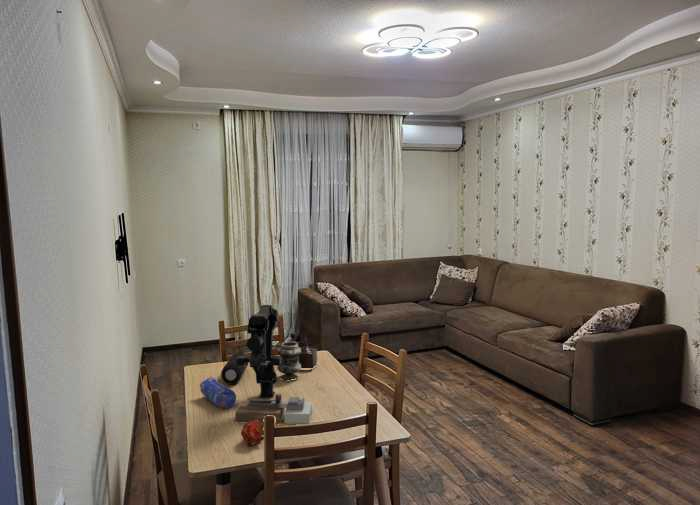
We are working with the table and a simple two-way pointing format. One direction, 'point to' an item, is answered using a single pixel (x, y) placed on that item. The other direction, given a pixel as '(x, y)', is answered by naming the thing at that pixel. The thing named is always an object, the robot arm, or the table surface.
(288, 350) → the apothecary jar
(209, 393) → the pencil case
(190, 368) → the table surface
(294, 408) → the block
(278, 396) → the lock bolt
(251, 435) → the dragon fruit
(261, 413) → the door board
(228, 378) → the portable speaker
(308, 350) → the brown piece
